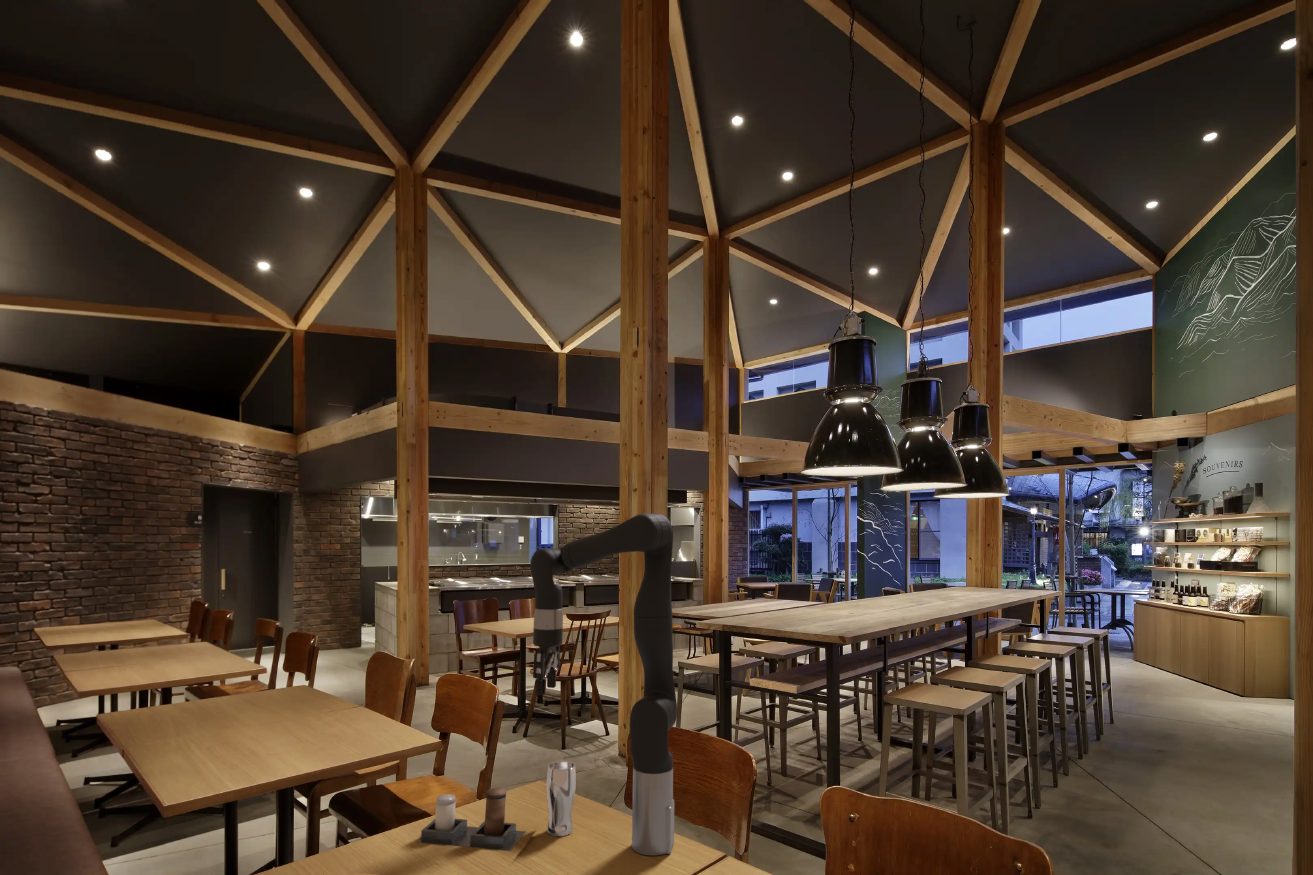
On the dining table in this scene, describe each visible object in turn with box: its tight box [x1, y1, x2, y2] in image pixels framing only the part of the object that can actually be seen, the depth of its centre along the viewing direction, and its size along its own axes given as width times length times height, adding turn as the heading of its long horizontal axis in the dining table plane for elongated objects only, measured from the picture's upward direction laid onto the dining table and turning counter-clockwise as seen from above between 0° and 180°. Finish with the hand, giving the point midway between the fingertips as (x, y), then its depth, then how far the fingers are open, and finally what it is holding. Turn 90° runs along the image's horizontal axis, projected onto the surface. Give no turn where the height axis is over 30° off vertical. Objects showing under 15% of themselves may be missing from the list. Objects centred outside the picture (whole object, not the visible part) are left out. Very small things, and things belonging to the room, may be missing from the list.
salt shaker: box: [434, 793, 457, 831], centre depth 163 cm, size 4×4×8 cm
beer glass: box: [546, 760, 577, 837], centre depth 168 cm, size 7×7×15 cm
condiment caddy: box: [417, 818, 527, 852], centre depth 161 cm, size 22×10×3 cm, turn 81°
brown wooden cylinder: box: [484, 787, 507, 836], centre depth 161 cm, size 4×4×10 cm
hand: (546, 690), depth 180 cm, fingers open, 8 cm apart
